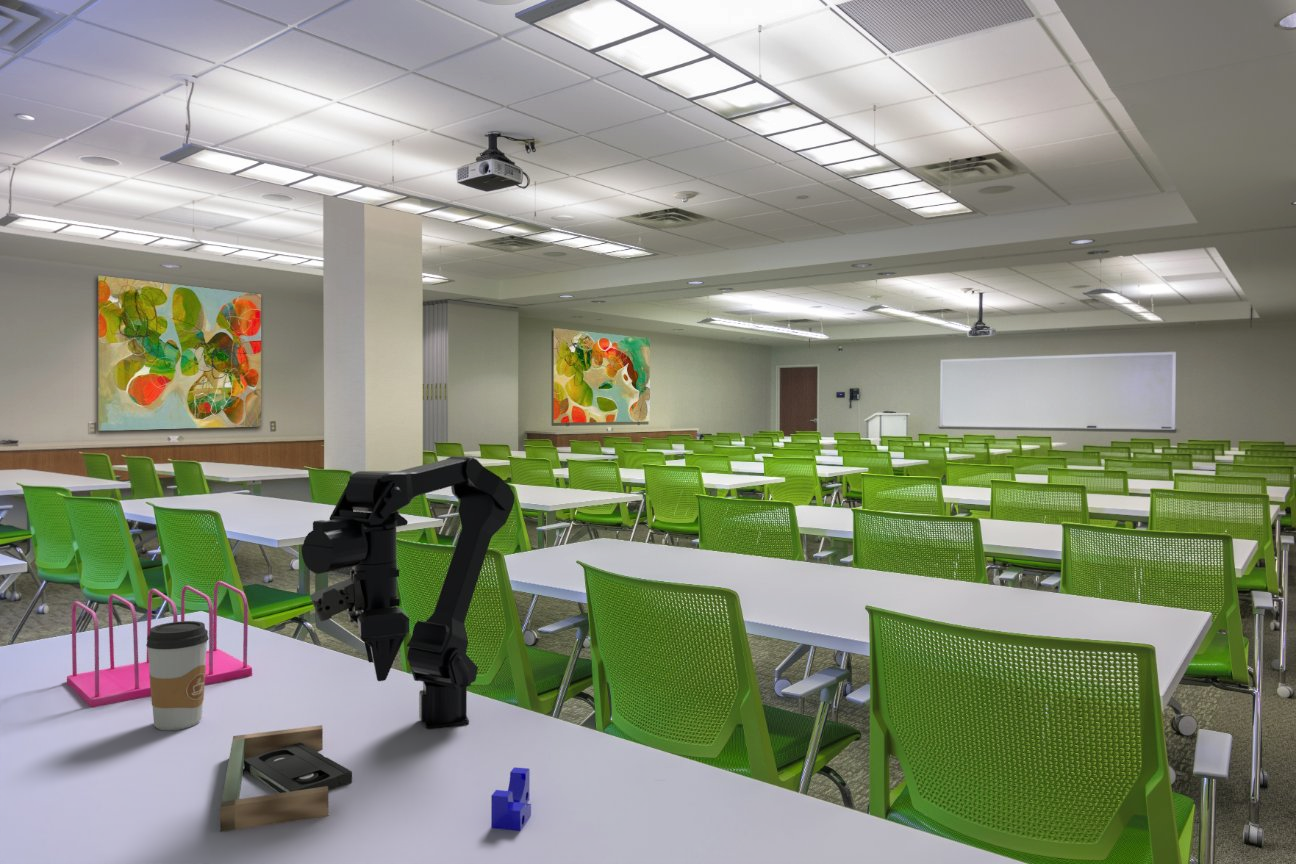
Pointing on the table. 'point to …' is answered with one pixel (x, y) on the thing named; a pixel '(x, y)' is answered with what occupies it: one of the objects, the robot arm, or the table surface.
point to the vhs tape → (296, 769)
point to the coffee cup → (177, 673)
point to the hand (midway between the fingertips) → (376, 671)
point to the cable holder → (512, 802)
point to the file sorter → (135, 677)
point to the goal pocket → (274, 805)
